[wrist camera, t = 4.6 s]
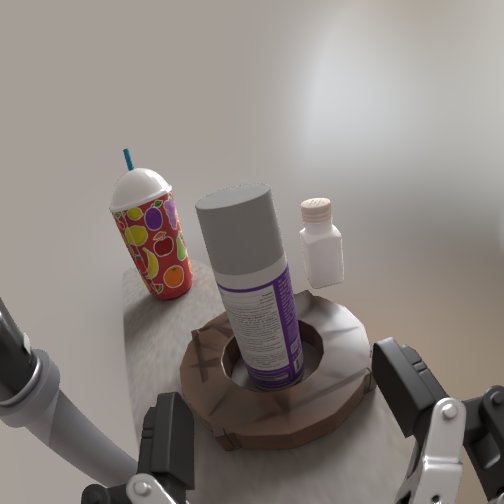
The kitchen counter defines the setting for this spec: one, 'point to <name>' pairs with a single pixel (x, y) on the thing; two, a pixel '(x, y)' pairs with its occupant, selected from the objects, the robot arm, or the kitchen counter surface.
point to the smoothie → (151, 230)
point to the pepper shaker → (321, 244)
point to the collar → (288, 400)
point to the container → (254, 281)
